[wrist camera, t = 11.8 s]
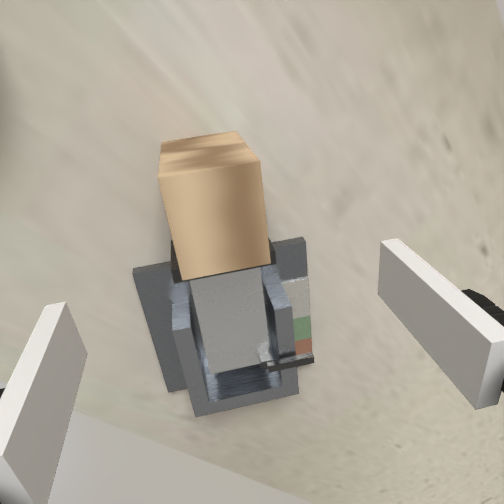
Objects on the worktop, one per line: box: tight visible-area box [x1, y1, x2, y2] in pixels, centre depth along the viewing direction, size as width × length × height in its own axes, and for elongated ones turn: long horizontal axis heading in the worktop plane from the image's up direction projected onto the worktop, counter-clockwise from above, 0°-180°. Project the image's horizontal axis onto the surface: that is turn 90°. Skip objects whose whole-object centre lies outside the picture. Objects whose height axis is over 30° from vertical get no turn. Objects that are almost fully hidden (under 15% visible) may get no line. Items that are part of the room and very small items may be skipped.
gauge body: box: [132, 237, 312, 417], centre depth 38 cm, size 16×15×5 cm
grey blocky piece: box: [171, 238, 314, 374], centre depth 35 cm, size 11×13×5 cm
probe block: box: [158, 131, 271, 281], centre depth 29 cm, size 6×7×10 cm
